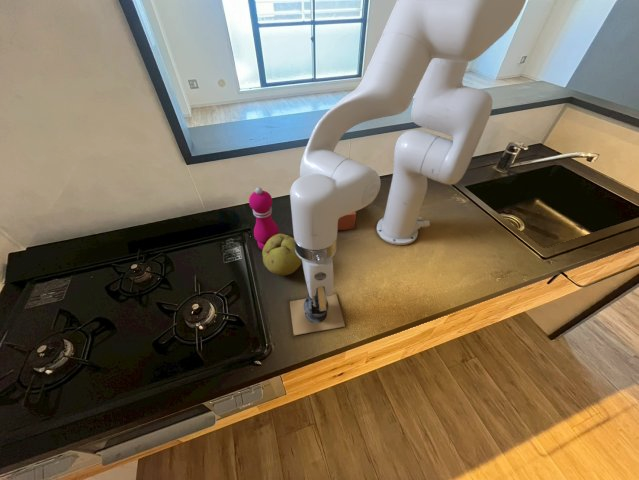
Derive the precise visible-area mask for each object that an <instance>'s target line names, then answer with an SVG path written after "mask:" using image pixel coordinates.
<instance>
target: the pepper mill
mask: <svg viewBox="0 0 639 480" xmlns="http://www.w3.org/2000/svg"><path fill="white" fill-rule="evenodd" d="M248 205H249V207H250V208H251V210H252V213H253V216H254V217H255V225H254V228H253V237H254V239H255V240H256V242H257V243H256V244H257V247H258V248H259V249H260V250H262V251H263V248H264V246H265V244H266V242H267V241H268V240H269V239H270V238H271V237H272V236H274V235H277V234H280V230H279V227H278V224H277V223H276V222H275V221H274V220H273V217H272V213H273V208H272V206H273V198H272V195H271V194H270V193H269V192H268V191H266V190H263V188H262V187H259V186H258V187H256V188H255V190H254V191H253V192H252V193H251V194H250V196H249V198H248Z"/></svg>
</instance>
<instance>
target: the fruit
mask: <svg viewBox="0 0 639 480" xmlns="http://www.w3.org/2000/svg"><path fill="white" fill-rule="evenodd" d="M261 254H262V262H263V266H264V267H265V268H266V269H267V270H268V271H269V272H270V273H271V274H273V275H276V276H280V277H285V276H288V275H291V274H293V273H295V272H296V271H297V270H298V269H299V267H300V266H301V265H303V263H302V259H300V258H299V257H298V256H297V254H296V252H295V244H294V237H293V236H291V235H289V234H285V233H279V234H277V235H274V236H272V237H271V238H270V239H269V240H268V241H267V242H266V244H265V246H264V248H263V250H262V252H261Z"/></svg>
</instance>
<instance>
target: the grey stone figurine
mask: <svg viewBox="0 0 639 480" xmlns="http://www.w3.org/2000/svg"><path fill="white" fill-rule="evenodd" d="M316 291H317V290H316ZM305 299H306V300H305V301H304V305H303V307H304V310H305V316H306V318H307V320H308V321H310V322H312V323H320V322H322V321H324V320H325V318H326V316H327V311H328V308H329V304H328V301H327V311H326V312H324V313H322V314H312V310H311V302H313V300H312V298H310V296H309V292H308V293H307V297H306V298H305ZM315 299H316V300H318V296H316V297H315Z"/></svg>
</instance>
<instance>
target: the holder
mask: <svg viewBox="0 0 639 480" xmlns="http://www.w3.org/2000/svg"><path fill="white" fill-rule="evenodd" d="M356 217H357V211H355V212H352V213H350V214H347V215H345V216H343V217H340V218H339V219H338V228H337V232H338V231H344V230H345V231H346V230H352V229H353V230H354V229H355V226H356V219H357V218H356Z"/></svg>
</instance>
